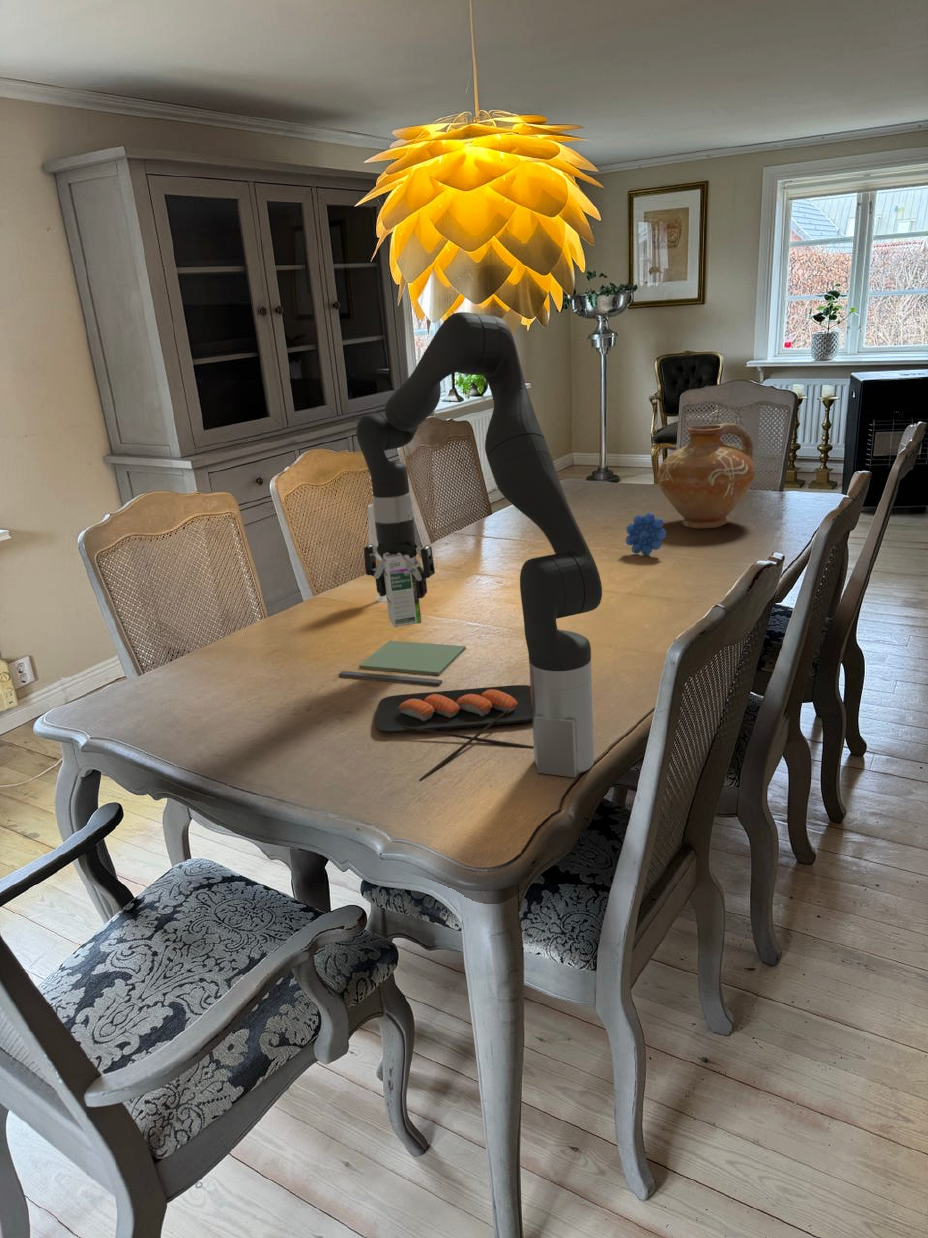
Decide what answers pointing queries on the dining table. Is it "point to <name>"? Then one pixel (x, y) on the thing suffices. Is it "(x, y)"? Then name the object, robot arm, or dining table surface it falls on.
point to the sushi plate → (455, 712)
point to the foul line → (391, 678)
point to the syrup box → (401, 591)
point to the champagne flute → (374, 541)
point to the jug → (708, 475)
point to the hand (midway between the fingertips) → (402, 596)
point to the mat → (413, 657)
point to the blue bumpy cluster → (645, 534)
